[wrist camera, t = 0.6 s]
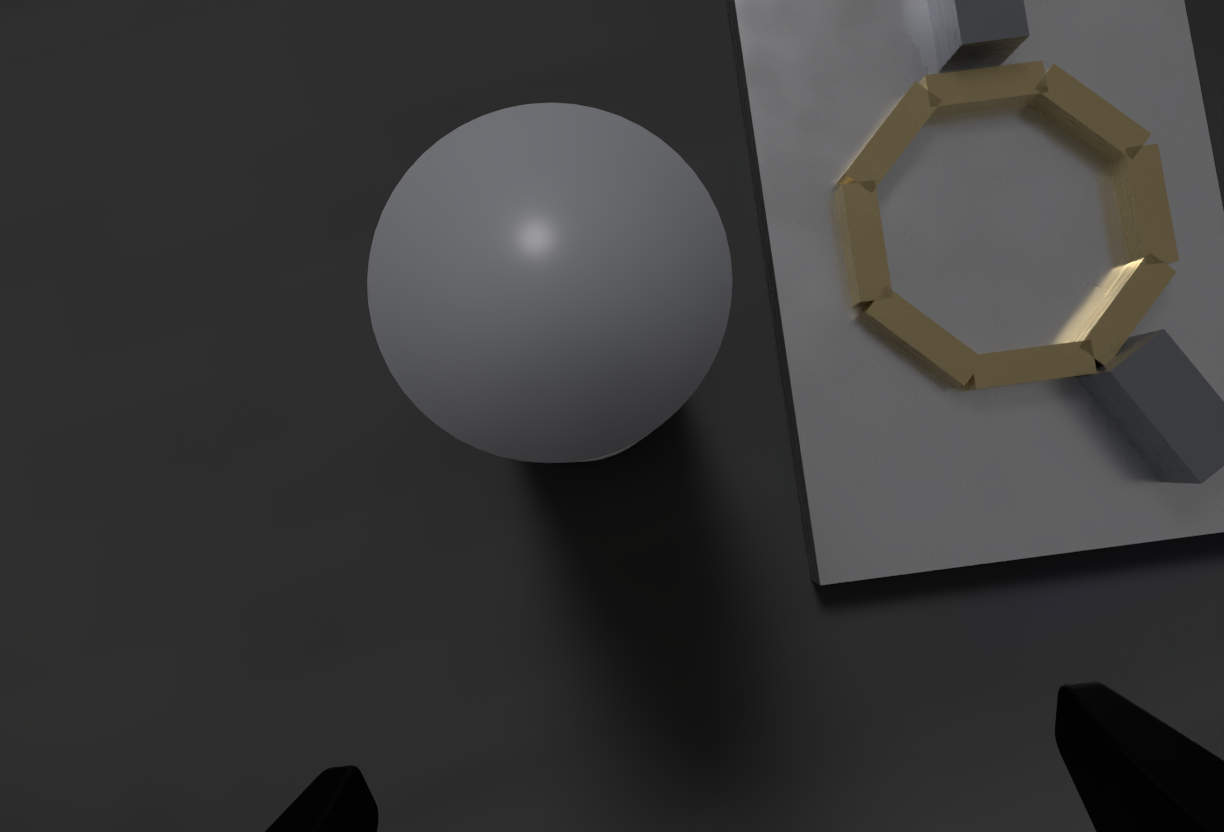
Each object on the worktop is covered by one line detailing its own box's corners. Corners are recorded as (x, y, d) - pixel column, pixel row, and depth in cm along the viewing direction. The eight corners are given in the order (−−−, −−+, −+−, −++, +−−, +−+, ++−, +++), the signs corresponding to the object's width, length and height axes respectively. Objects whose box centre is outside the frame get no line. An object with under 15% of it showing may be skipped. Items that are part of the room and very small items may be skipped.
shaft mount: (1252, 521, 23) (1330, 528, 20) (811, 579, 23) (835, 594, 20) (1141, -82, 24) (1202, -145, 21) (722, -30, 24) (735, -87, 21)
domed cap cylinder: (681, 449, 23) (756, 437, 11) (505, 472, 23) (388, 485, 11) (657, 276, 23) (704, 81, 11) (484, 298, 23) (348, 127, 11)
